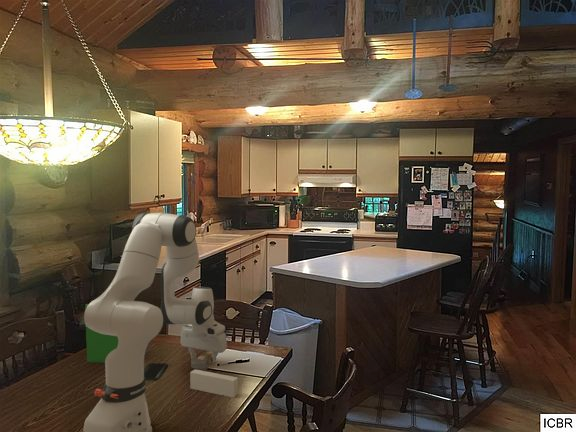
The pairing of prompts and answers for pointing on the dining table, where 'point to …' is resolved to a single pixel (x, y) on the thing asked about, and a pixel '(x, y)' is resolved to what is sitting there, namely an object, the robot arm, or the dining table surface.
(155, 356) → the dining table surface
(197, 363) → the pusher
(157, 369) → the phone
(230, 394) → the white rectangular block
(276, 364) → the dining table surface
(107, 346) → the hardback book
